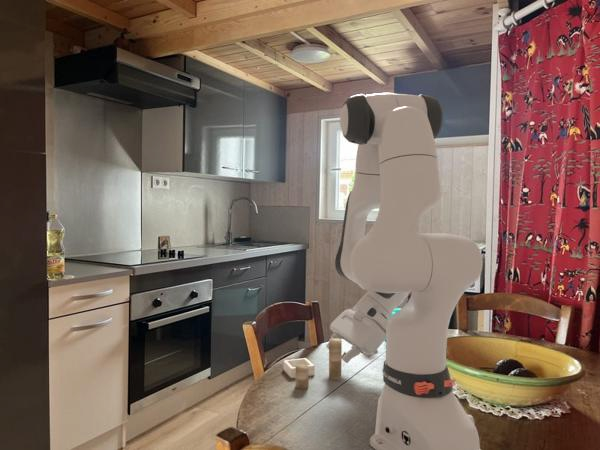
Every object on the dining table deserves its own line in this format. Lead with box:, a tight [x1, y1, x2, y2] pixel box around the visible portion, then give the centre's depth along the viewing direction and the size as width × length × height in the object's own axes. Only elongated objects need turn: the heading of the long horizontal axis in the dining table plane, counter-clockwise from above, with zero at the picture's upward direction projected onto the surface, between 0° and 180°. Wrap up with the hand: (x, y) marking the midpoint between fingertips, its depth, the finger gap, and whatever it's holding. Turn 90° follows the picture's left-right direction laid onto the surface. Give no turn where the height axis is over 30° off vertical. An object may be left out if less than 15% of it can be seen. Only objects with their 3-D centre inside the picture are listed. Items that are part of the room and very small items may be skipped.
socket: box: [283, 357, 315, 379], centre depth 119 cm, size 6×6×2 cm
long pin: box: [328, 337, 343, 382], centre depth 115 cm, size 3×3×10 cm
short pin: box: [295, 365, 310, 391], centre depth 109 cm, size 3×3×5 cm
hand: (335, 354), depth 115 cm, fingers open, 8 cm apart
